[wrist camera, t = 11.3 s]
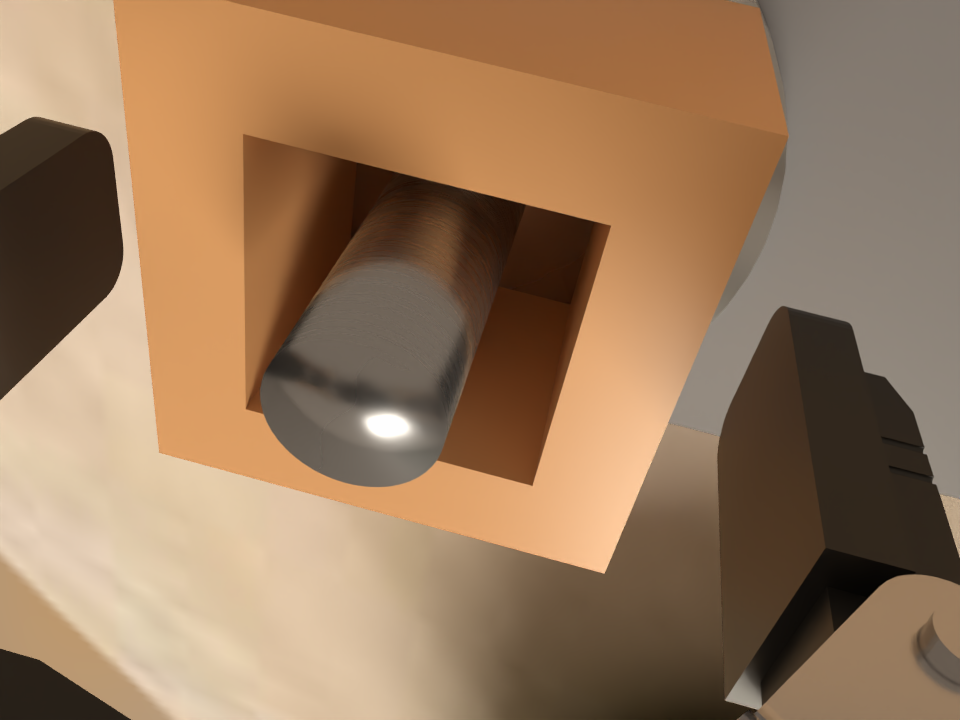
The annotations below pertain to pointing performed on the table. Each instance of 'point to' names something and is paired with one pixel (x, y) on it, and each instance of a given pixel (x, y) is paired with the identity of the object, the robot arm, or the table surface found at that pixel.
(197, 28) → the collar
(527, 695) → the table surface
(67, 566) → the table surface
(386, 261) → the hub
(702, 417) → the board
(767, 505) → the robot arm
